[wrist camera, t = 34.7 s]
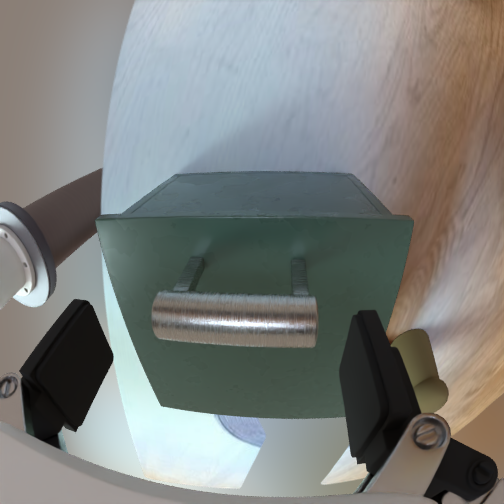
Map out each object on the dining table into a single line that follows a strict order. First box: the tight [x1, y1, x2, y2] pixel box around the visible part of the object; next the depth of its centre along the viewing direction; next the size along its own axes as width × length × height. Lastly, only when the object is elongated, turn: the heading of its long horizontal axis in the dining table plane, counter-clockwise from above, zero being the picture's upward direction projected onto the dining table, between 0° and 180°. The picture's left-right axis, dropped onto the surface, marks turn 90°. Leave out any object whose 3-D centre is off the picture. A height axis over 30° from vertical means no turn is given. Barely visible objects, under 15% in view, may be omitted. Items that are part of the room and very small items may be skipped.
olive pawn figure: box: [391, 329, 449, 413], centre depth 29 cm, size 6×6×11 cm
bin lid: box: [95, 211, 414, 419], centre depth 15 cm, size 17×17×6 cm
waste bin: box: [122, 171, 392, 215], centre depth 24 cm, size 17×17×13 cm
